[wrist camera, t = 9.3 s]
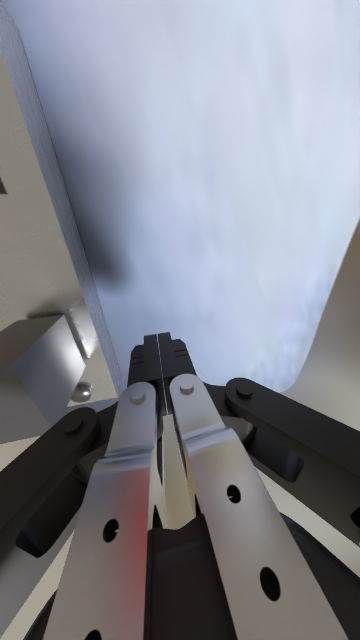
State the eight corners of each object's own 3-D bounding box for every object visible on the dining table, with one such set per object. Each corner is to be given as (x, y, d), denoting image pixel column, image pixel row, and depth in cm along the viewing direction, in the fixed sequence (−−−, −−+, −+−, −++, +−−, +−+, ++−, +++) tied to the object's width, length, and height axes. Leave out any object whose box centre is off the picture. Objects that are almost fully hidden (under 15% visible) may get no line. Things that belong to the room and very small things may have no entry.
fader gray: (16, 320, 10) (-74, 379, 6) (63, 314, 10) (9, 366, 6) (46, 372, 11) (-6, 445, 7) (85, 366, 12) (55, 432, 8)
